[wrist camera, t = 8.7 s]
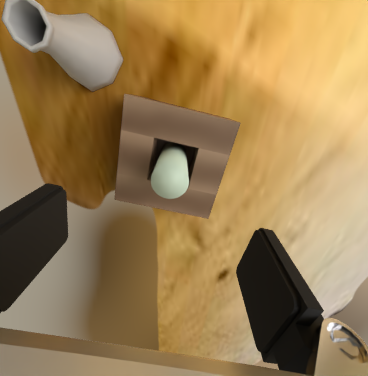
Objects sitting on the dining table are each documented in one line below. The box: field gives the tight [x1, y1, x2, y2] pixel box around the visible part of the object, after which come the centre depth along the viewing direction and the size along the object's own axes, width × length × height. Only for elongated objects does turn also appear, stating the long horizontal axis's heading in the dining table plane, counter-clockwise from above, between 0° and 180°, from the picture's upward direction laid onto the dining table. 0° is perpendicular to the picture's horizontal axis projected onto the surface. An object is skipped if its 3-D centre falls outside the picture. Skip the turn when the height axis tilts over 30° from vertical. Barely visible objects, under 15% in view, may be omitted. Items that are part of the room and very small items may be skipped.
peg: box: [151, 142, 189, 199], centre depth 21 cm, size 3×3×10 cm
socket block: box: [115, 94, 240, 219], centre depth 24 cm, size 12×12×6 cm
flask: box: [2, 0, 123, 92], centre depth 18 cm, size 7×7×10 cm
